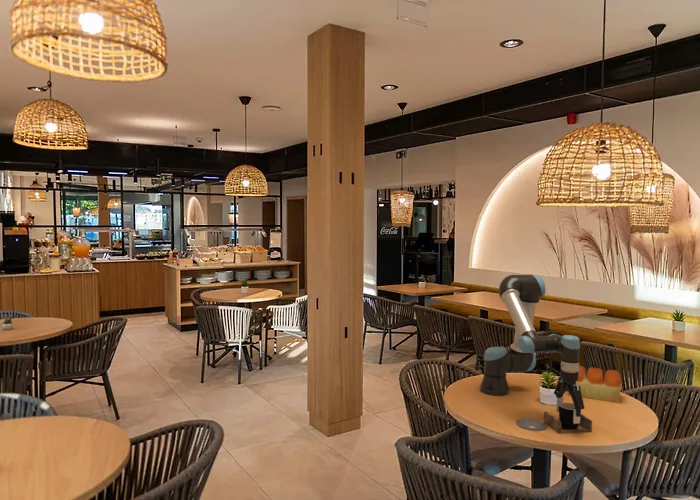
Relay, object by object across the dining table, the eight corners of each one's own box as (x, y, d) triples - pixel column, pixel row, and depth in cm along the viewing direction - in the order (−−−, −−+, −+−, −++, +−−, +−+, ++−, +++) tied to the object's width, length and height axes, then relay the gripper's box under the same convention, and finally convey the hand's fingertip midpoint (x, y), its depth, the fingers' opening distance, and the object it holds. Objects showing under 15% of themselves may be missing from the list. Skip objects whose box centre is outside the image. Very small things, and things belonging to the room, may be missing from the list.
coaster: (511, 420, 240) (511, 418, 240) (537, 418, 242) (537, 417, 242) (524, 431, 227) (525, 430, 227) (552, 430, 229) (552, 428, 229)
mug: (584, 432, 227) (585, 409, 227) (564, 432, 226) (565, 410, 226) (569, 421, 239) (570, 400, 238) (551, 422, 238) (551, 400, 237)
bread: (620, 396, 275) (621, 369, 274) (620, 404, 264) (622, 375, 263) (569, 389, 286) (570, 362, 285) (567, 395, 275) (568, 368, 274)
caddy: (543, 422, 238) (544, 411, 237) (575, 420, 240) (575, 410, 240) (558, 433, 225) (559, 422, 225) (591, 431, 228) (592, 420, 227)
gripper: (547, 363, 243) (545, 407, 244) (578, 379, 218) (576, 428, 219) (561, 362, 244) (560, 407, 245) (594, 378, 219) (592, 427, 220)
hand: (567, 417), depth 232 cm, fingers open, 13 cm apart
